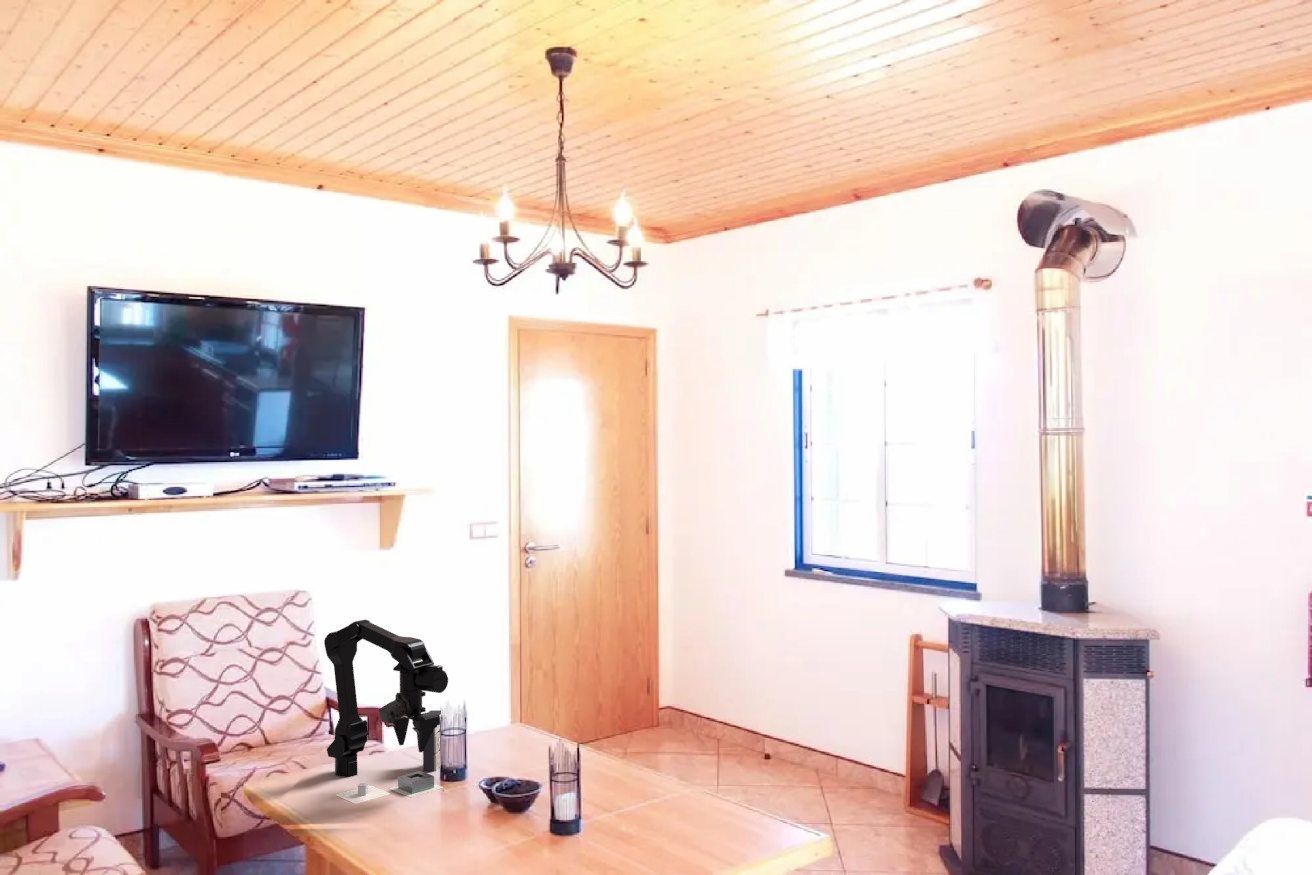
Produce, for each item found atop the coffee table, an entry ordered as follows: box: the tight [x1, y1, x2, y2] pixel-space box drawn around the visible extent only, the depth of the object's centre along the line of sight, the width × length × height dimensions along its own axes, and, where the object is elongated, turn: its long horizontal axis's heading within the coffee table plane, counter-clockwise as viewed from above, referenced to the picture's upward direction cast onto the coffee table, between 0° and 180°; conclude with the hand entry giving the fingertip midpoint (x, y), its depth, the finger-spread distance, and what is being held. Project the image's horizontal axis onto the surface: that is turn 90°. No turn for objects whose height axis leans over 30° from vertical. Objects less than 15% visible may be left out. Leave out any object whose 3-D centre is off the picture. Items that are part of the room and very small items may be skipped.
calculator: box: [422, 709, 441, 773], centre depth 282 cm, size 11×4×15 cm, turn 179°
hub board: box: [388, 777, 445, 798], centre depth 263 cm, size 10×10×4 cm
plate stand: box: [335, 782, 391, 805], centre depth 258 cm, size 10×10×4 cm
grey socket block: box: [397, 770, 435, 794], centre depth 263 cm, size 7×7×3 cm
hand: (411, 748), depth 265 cm, fingers open, 9 cm apart
